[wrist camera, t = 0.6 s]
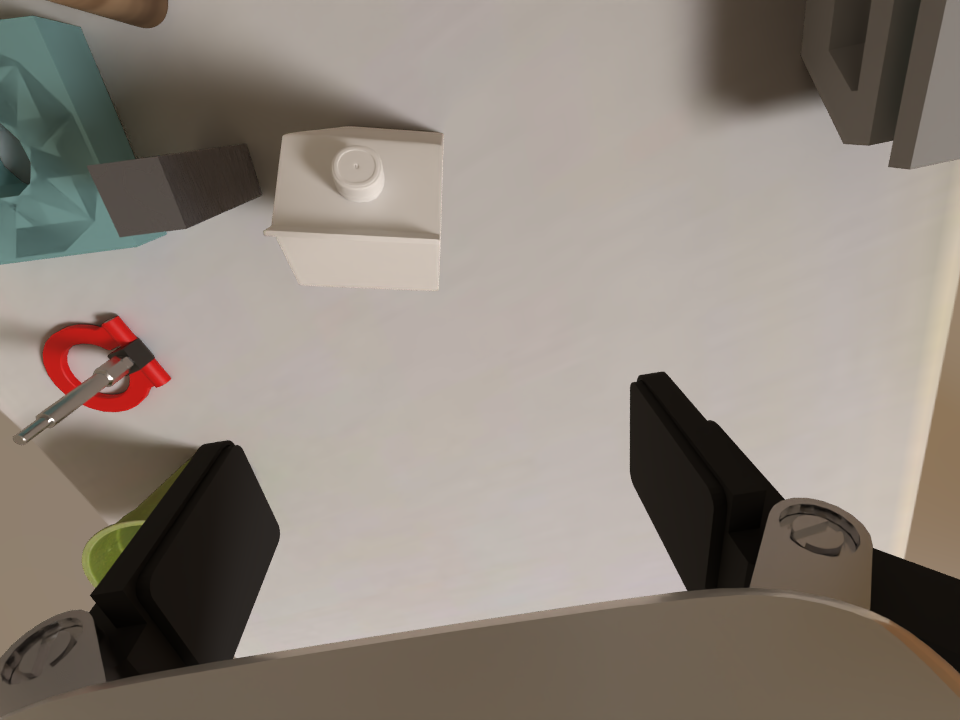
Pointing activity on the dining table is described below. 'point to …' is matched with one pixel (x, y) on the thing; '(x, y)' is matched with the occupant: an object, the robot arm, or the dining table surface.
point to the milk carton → (360, 207)
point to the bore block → (56, 144)
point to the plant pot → (120, 535)
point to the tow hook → (96, 373)
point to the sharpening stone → (889, 74)
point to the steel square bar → (175, 188)
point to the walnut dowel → (123, 10)
